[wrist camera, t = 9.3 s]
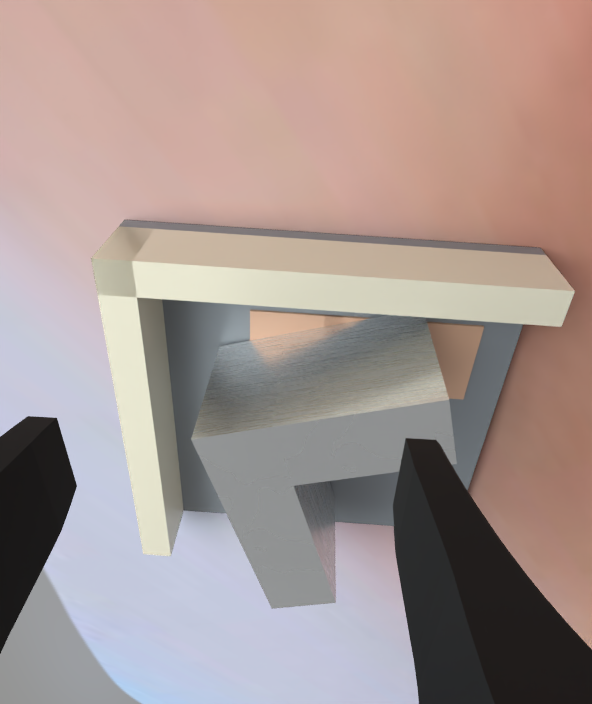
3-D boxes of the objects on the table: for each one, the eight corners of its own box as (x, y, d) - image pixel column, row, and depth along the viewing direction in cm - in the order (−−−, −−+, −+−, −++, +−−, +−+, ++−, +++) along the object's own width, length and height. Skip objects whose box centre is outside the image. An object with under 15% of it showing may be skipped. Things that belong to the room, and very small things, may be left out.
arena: (540, 247, 18) (574, 291, 16) (451, 519, 26) (464, 578, 23) (124, 220, 18) (90, 258, 16) (161, 498, 26) (143, 554, 24)
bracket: (447, 484, 24) (472, 590, 20) (281, 505, 25) (271, 608, 21) (423, 308, 19) (449, 399, 15) (219, 346, 20) (191, 439, 16)
